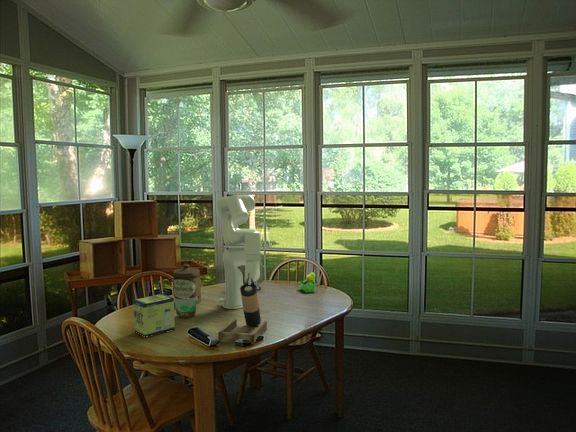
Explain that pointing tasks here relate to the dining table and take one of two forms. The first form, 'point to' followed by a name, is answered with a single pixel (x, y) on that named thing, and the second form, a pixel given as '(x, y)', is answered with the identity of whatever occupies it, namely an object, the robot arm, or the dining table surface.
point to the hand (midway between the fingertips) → (253, 295)
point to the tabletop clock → (242, 269)
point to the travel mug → (250, 304)
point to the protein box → (153, 315)
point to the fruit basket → (308, 283)
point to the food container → (185, 307)
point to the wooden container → (187, 283)
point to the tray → (240, 332)
